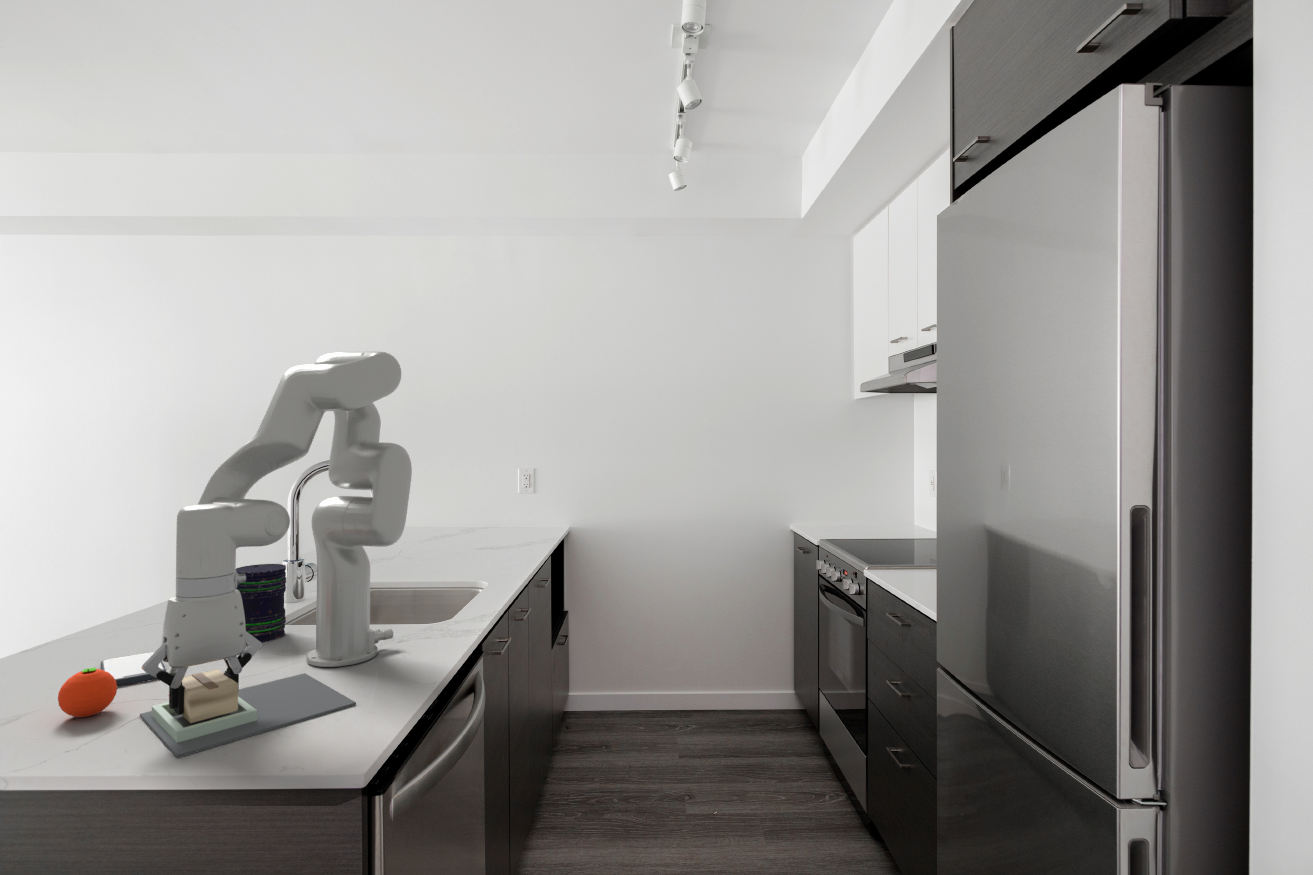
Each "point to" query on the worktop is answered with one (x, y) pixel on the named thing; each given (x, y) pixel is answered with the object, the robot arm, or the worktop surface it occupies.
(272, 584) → the storage jar
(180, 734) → the tray frame
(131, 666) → the smartphone
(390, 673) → the worktop surface
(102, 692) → the clementine
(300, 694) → the rubber mat
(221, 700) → the wooden block
